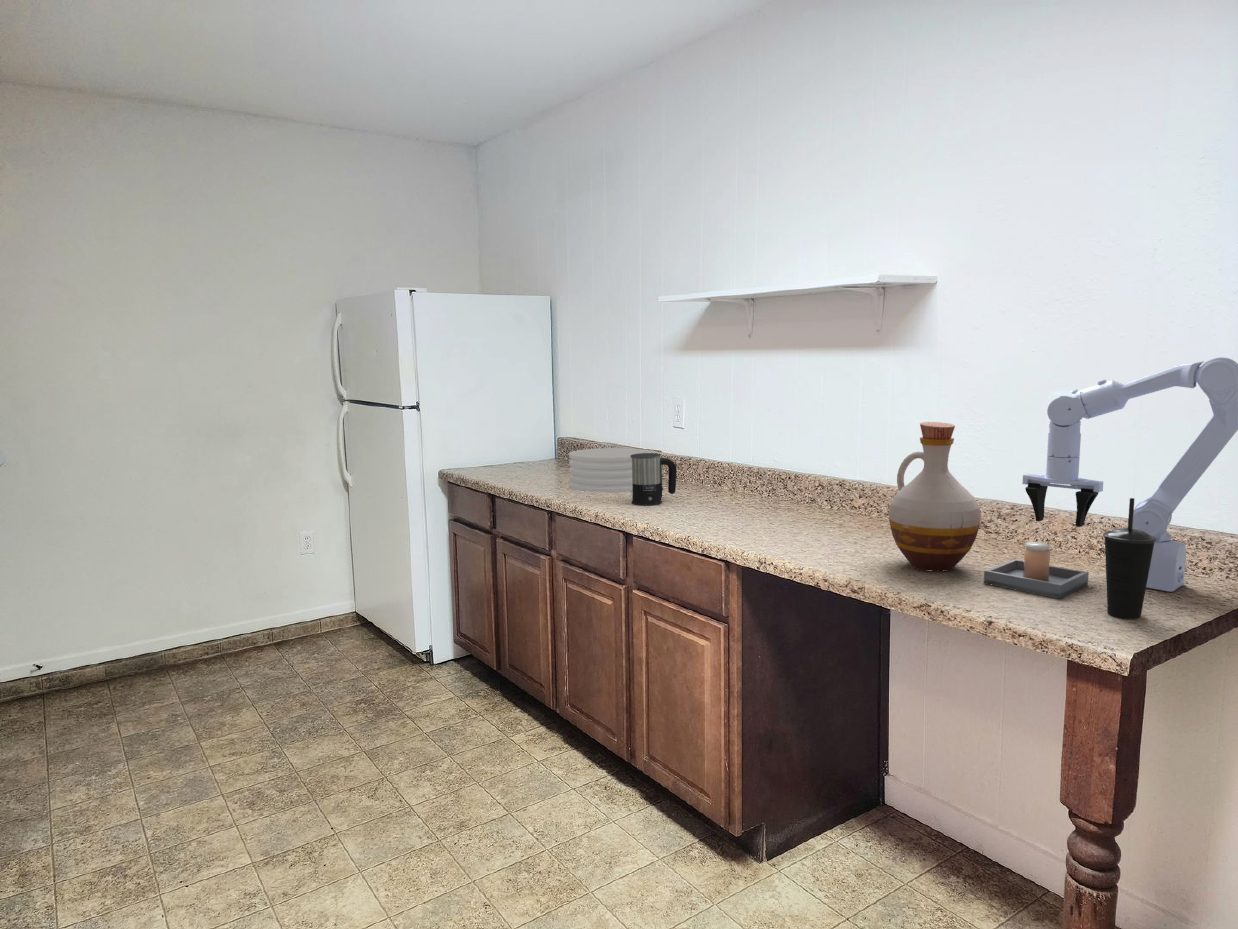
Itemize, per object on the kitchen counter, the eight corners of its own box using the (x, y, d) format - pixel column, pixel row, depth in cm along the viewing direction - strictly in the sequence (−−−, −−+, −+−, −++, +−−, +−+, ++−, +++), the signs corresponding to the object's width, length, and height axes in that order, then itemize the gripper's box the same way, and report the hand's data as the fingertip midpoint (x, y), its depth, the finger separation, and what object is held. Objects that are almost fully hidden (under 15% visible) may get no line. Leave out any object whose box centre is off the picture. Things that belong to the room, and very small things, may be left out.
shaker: (1049, 578, 161) (1051, 543, 160) (1047, 584, 157) (1049, 547, 156) (1024, 575, 163) (1025, 540, 162) (1022, 581, 159) (1023, 545, 158)
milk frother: (640, 507, 245) (640, 457, 243) (615, 499, 259) (614, 451, 257) (681, 502, 252) (681, 453, 250) (654, 495, 265) (654, 448, 264)
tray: (1087, 584, 159) (1088, 572, 159) (1060, 598, 151) (1060, 585, 150) (1013, 571, 169) (1014, 559, 169) (983, 583, 161) (984, 570, 161)
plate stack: (654, 491, 273) (654, 456, 271) (569, 493, 272) (568, 458, 270) (648, 478, 300) (647, 447, 299) (570, 480, 299) (569, 448, 298)
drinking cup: (1102, 619, 139) (1110, 501, 136) (1094, 606, 146) (1101, 493, 143) (1155, 624, 136) (1164, 503, 133) (1145, 610, 143) (1153, 495, 141)
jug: (863, 560, 180) (867, 421, 176) (926, 551, 187) (931, 417, 183) (931, 582, 162) (937, 428, 158) (998, 571, 169) (1005, 424, 165)
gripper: (1110, 457, 163) (1106, 525, 165) (1034, 451, 174) (1030, 515, 176) (1097, 460, 158) (1092, 531, 160) (1019, 454, 169) (1016, 520, 171)
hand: (1059, 523), depth 168 cm, fingers open, 7 cm apart
